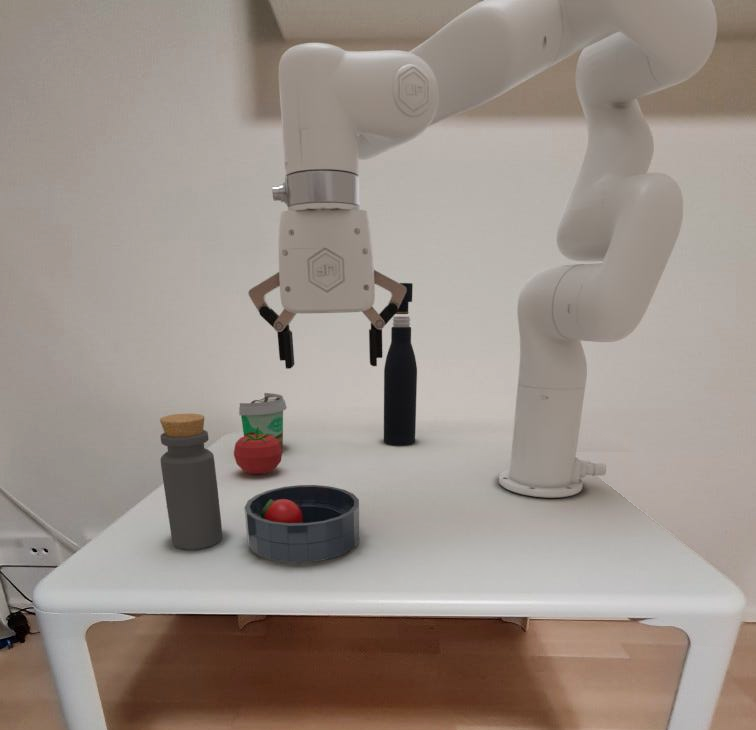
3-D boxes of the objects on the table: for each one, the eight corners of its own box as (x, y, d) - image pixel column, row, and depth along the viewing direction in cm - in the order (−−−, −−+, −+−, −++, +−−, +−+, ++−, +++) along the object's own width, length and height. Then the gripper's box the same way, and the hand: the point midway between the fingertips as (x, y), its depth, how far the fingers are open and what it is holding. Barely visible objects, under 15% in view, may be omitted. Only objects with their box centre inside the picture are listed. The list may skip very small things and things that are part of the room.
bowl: (359, 520, 72) (358, 484, 70) (359, 566, 59) (359, 524, 58) (258, 521, 71) (255, 485, 70) (238, 568, 59) (234, 525, 57)
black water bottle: (389, 446, 107) (390, 282, 96) (379, 439, 113) (380, 283, 102) (419, 444, 109) (424, 283, 98) (409, 437, 114) (412, 283, 104)
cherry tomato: (312, 508, 67) (279, 488, 67) (305, 515, 62) (269, 494, 62) (294, 539, 67) (261, 520, 67) (285, 548, 63) (250, 527, 63)
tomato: (292, 473, 91) (289, 428, 88) (249, 483, 86) (245, 435, 83) (268, 463, 96) (265, 420, 94) (227, 471, 92) (223, 426, 89)
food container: (274, 460, 98) (271, 405, 94) (243, 458, 99) (238, 403, 96) (297, 443, 109) (295, 393, 106) (269, 441, 110) (265, 392, 107)
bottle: (204, 526, 70) (190, 410, 64) (232, 538, 66) (220, 416, 61) (162, 541, 66) (143, 418, 60) (190, 554, 62) (172, 425, 57)
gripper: (232, 193, 53) (251, 372, 59) (409, 190, 54) (409, 368, 60) (246, 204, 60) (261, 364, 66) (402, 202, 60) (403, 360, 67)
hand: (331, 365), depth 63 cm, fingers open, 9 cm apart
